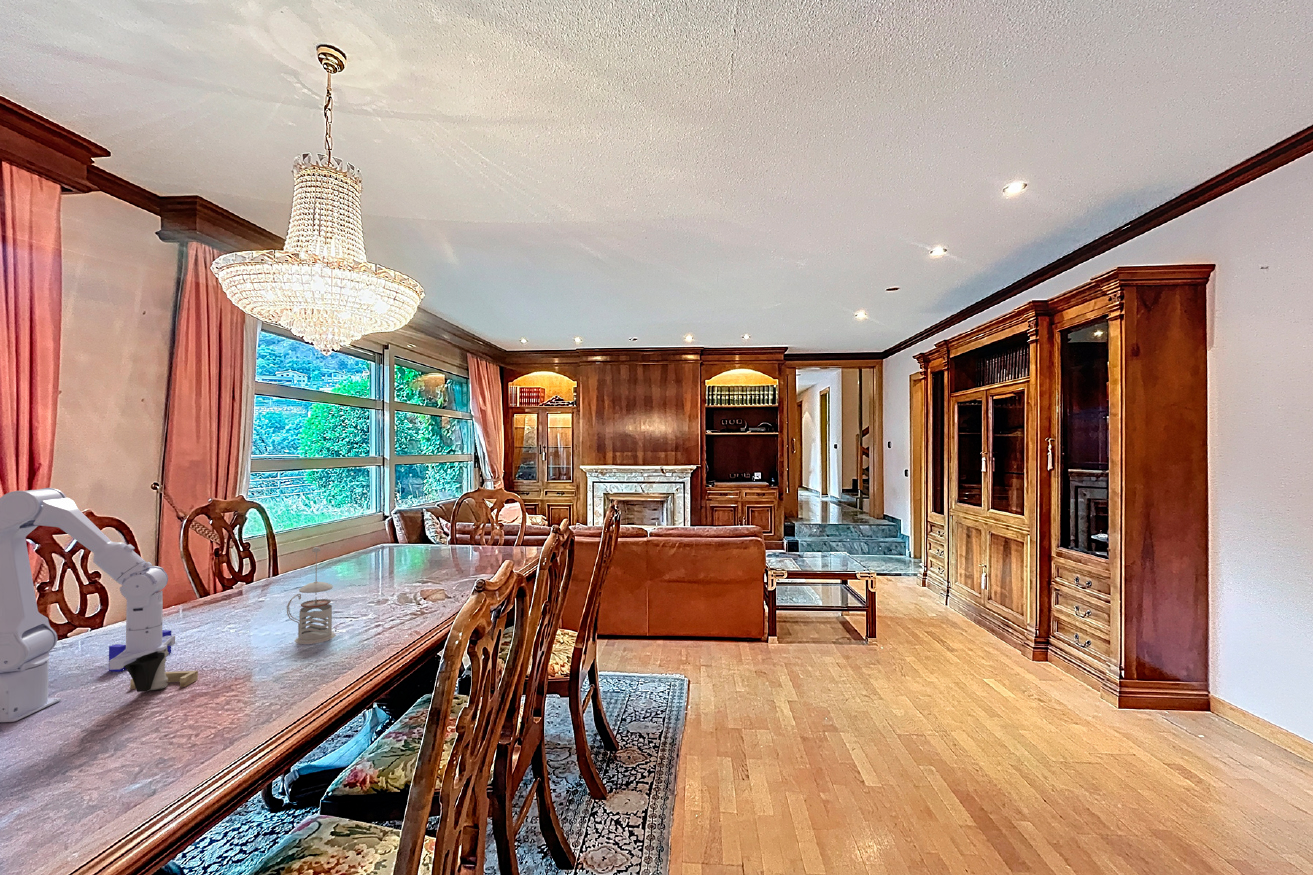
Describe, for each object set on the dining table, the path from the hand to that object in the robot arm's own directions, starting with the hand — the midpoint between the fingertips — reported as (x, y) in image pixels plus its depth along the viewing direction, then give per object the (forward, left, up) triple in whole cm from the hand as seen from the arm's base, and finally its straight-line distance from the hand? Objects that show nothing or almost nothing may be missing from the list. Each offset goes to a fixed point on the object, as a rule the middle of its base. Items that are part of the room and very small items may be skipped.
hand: (143, 690), depth 119 cm
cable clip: (+21, +17, -2) cm, 27 cm away
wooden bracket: (+6, 0, -1) cm, 6 cm away
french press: (+34, -17, -1) cm, 38 cm away
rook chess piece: (+3, 0, -1) cm, 3 cm away
